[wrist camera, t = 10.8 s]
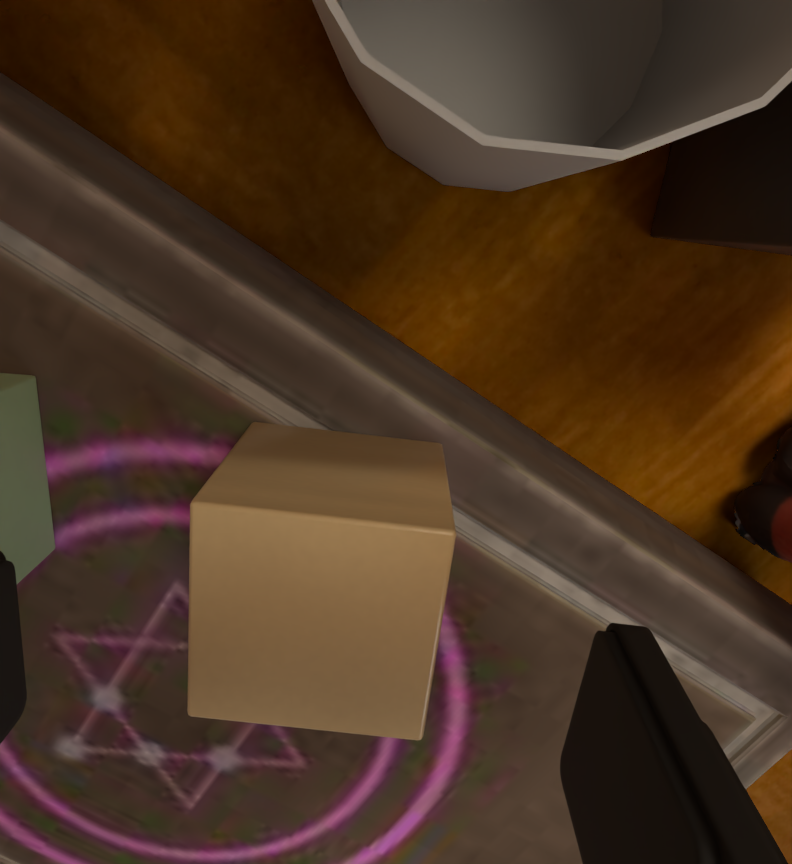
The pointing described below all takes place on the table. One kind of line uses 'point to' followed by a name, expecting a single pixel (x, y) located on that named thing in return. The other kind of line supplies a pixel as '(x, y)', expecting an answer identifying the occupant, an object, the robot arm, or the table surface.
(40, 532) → the sage block
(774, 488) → the stuffed fox
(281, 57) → the table surface
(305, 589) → the birch block
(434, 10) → the cup
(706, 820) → the robot arm
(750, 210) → the stand
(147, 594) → the book
